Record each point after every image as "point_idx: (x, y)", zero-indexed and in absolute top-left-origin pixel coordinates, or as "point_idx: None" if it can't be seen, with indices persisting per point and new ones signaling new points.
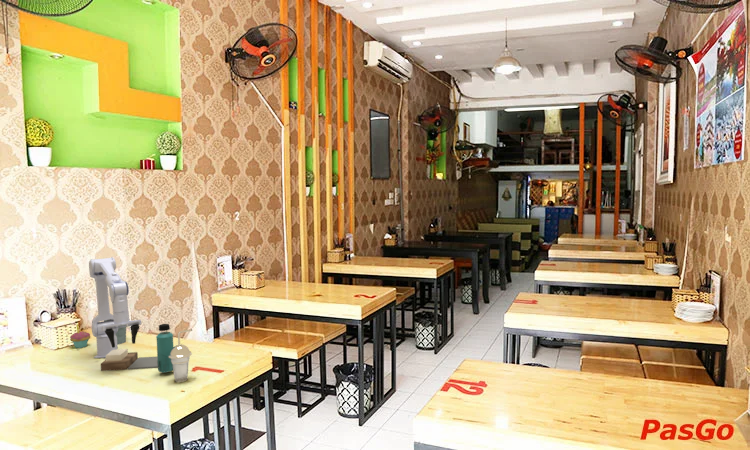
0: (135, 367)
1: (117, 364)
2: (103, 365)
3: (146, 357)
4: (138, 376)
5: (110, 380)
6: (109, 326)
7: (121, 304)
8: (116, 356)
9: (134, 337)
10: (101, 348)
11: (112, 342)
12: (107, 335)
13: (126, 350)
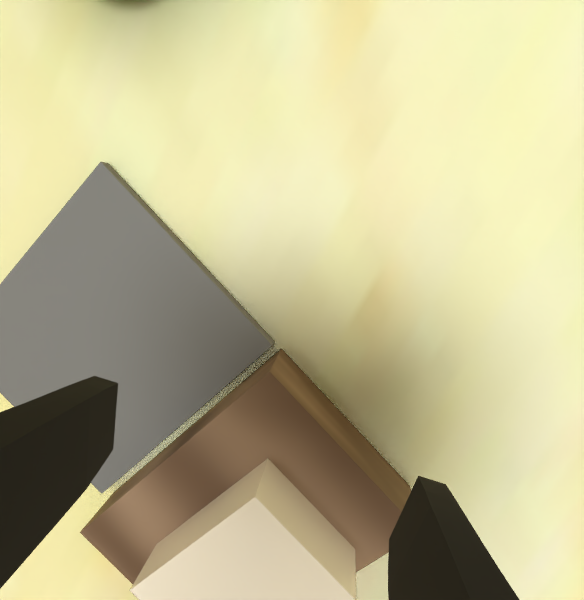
0: (228, 302)
1: (324, 419)
2: (402, 502)
3: None
4: (317, 87)
5: (512, 204)
6: None
7: None
8: (288, 514)
9: (3, 430)
10: None
11: (498, 573)
12: None
13: (152, 569)
